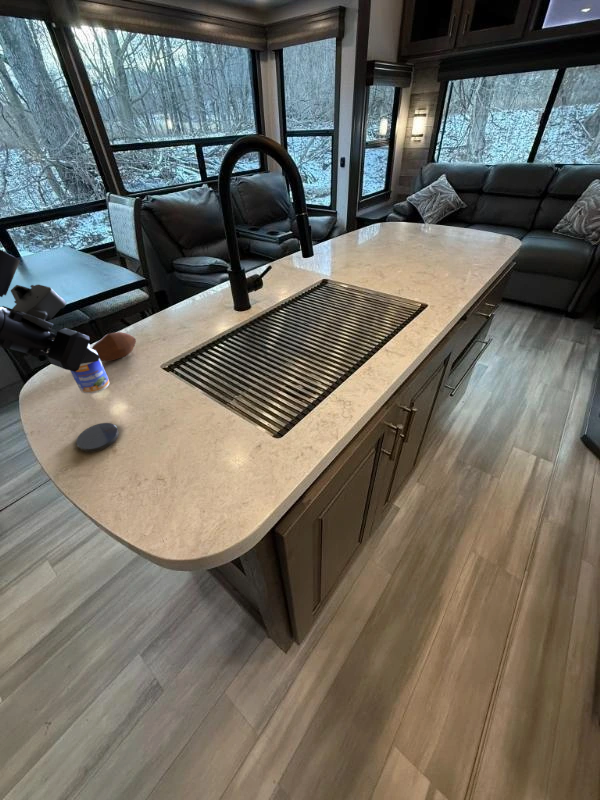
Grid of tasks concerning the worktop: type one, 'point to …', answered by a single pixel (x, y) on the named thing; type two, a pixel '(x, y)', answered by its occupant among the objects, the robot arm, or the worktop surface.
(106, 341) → the potato
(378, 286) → the worktop surface
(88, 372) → the pill bottle
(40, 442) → the worktop surface
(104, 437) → the coaster
